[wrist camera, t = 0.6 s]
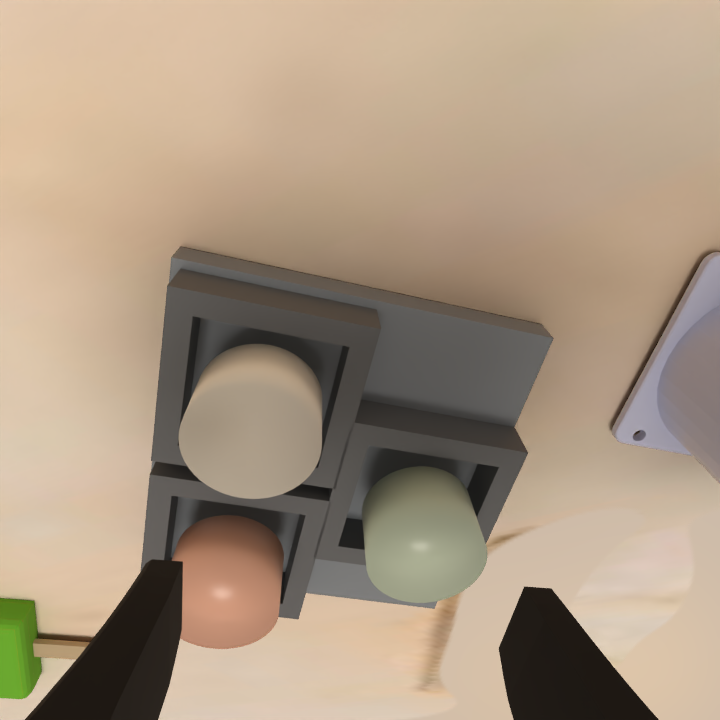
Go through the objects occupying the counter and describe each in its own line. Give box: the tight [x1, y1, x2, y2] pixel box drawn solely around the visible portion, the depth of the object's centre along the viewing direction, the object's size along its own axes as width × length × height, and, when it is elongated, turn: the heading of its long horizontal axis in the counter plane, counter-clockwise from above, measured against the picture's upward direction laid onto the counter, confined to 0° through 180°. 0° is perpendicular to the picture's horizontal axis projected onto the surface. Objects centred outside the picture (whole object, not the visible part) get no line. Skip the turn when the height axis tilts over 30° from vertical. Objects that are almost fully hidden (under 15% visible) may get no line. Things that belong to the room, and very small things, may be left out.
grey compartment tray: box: [141, 247, 553, 619], centre depth 21 cm, size 13×14×3 cm
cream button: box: [179, 344, 322, 499], centre depth 17 cm, size 4×4×2 cm
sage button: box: [362, 466, 487, 603], centre depth 19 cm, size 4×4×2 cm
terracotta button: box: [172, 515, 284, 649], centre depth 20 cm, size 4×4×2 cm
